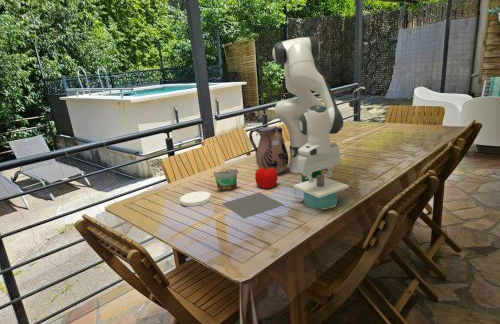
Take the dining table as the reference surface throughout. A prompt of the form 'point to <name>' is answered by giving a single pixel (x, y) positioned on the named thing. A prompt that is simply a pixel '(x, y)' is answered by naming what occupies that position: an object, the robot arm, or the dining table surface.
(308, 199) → the teal octagonal bowl
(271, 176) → the tomato
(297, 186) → the cover board
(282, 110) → the robot arm
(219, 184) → the food container
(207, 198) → the plastic lid
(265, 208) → the rubber mat
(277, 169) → the ceramic pitcher
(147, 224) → the dining table surface
